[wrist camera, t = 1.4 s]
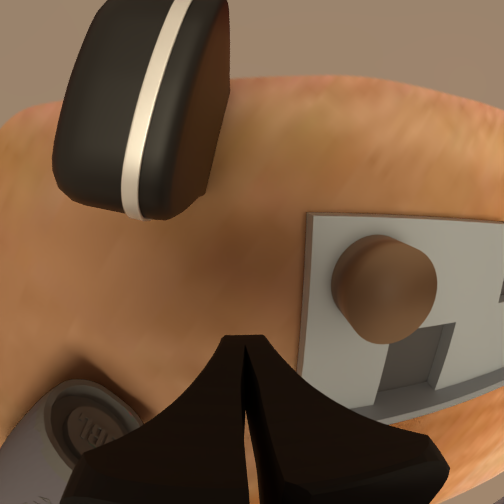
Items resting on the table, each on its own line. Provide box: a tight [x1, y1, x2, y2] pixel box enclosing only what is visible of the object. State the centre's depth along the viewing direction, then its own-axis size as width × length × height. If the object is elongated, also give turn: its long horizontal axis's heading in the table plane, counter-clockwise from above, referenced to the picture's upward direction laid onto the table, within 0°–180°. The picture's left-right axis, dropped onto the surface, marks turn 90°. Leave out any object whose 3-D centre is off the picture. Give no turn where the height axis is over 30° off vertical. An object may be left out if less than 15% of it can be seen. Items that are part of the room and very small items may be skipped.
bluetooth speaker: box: [0, 379, 144, 504], centre depth 17 cm, size 23×9×10 cm, turn 133°
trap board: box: [297, 212, 504, 425], centre depth 19 cm, size 15×28×3 cm, turn 90°
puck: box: [331, 234, 437, 344], centre depth 16 cm, size 6×6×3 cm
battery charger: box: [52, 0, 230, 221], centre depth 11 cm, size 7×4×11 cm, turn 167°
